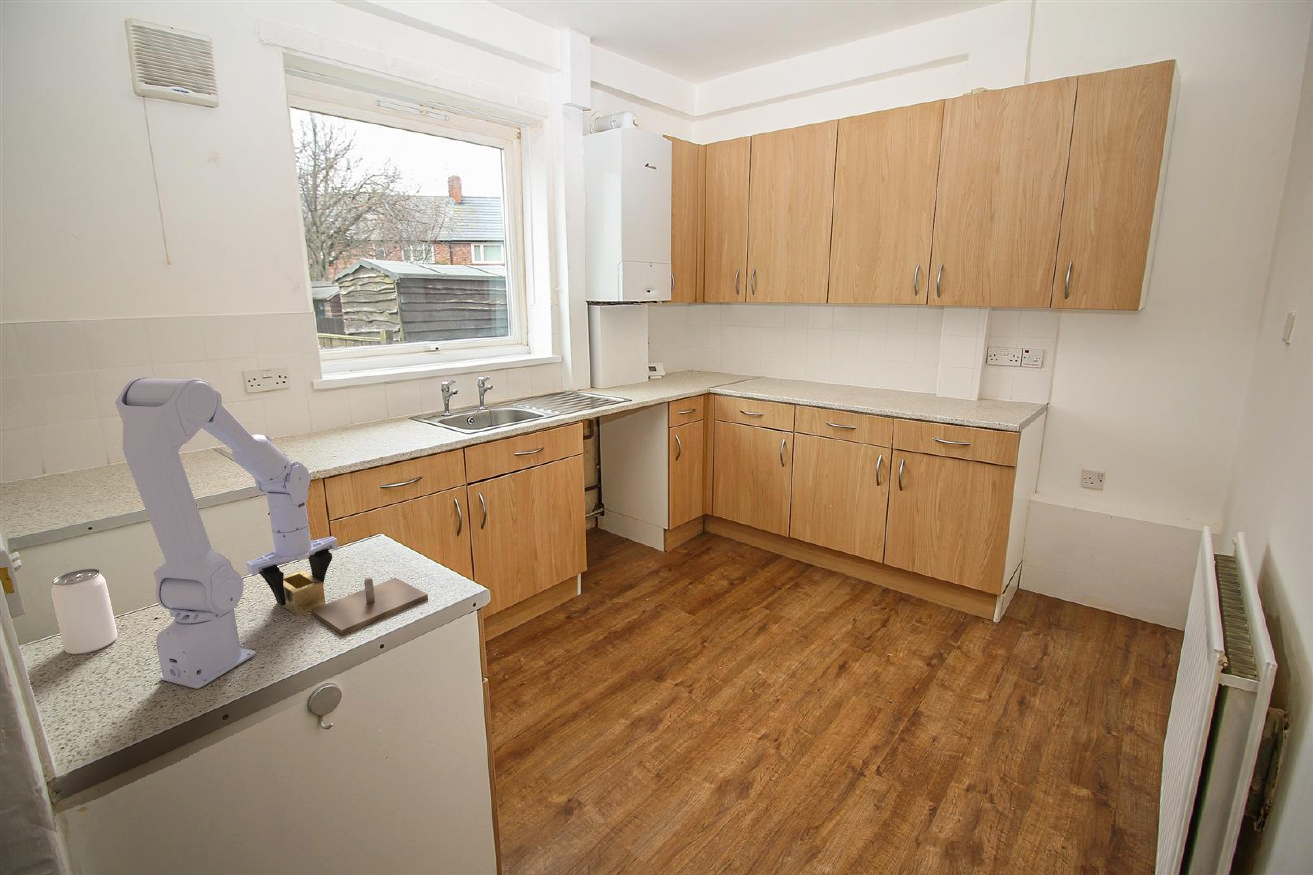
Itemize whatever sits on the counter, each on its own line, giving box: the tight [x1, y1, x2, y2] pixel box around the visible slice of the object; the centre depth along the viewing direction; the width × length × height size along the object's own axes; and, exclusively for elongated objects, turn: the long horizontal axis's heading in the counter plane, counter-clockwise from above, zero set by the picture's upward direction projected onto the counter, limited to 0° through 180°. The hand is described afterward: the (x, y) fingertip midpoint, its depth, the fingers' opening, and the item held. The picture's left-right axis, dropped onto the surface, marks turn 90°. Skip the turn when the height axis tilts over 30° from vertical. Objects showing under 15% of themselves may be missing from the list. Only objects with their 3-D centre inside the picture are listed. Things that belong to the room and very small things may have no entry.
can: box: [50, 568, 118, 656], centre depth 100 cm, size 6×6×12 cm
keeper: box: [310, 577, 429, 636], centre depth 113 cm, size 16×11×6 cm
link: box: [282, 570, 327, 617], centre depth 114 cm, size 8×5×4 cm, turn 52°
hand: (300, 596), depth 114 cm, fingers open, 6 cm apart
